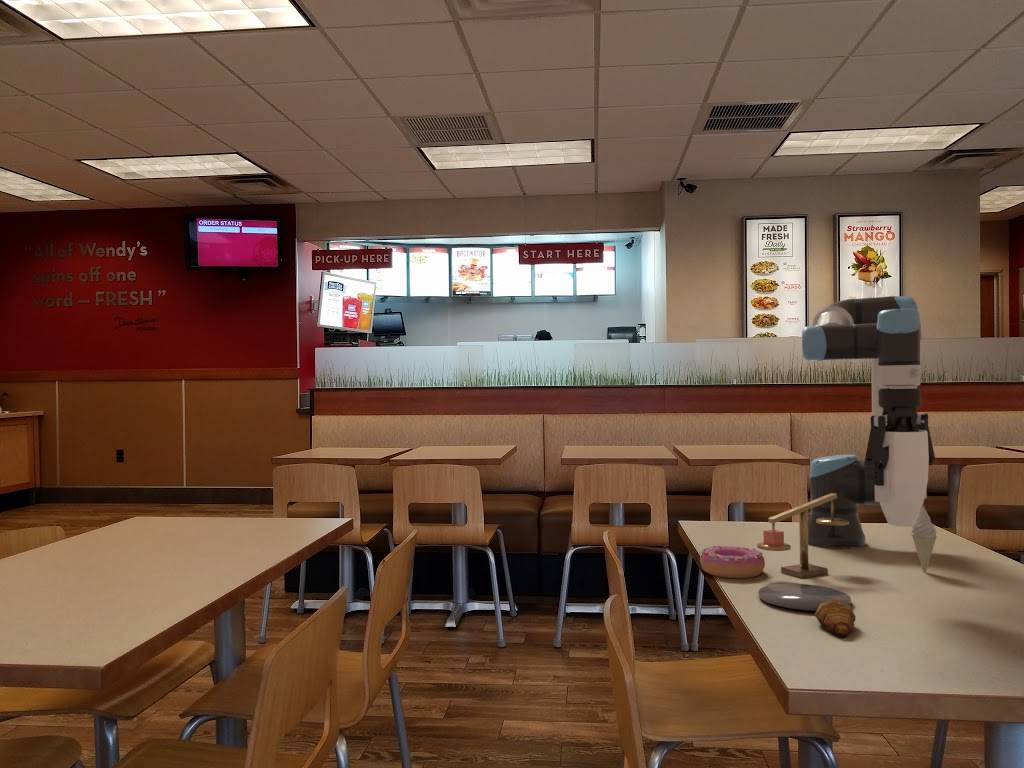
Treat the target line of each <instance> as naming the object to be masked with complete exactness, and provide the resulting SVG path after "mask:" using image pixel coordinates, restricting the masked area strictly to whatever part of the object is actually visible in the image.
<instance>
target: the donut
mask: <svg viewBox="0 0 1024 768" xmlns="http://www.w3.org/2000/svg"><path fill="white" fill-rule="evenodd" d="M699 554H700V557H699V562H700V567H701V568H702V571H704V572H705V573H706V574H709V575H711V576H713V577H719V578H727V579H747V578H748V579H749V578H755V577H757V576H759V575H761V574H762V573H763V572H764V569H765V565H766V561H765V558H764V554H763V552H761V551H759V550H757V549H755V548H750V547H743V546H734V545H724V546H722V545H716V546H715V545H713V546H711V547H710V546H709V547H705V548H704V549H702V550H701V551H700V552H699Z"/></svg>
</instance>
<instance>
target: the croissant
mask: <svg viewBox="0 0 1024 768" xmlns="http://www.w3.org/2000/svg"><path fill="white" fill-rule="evenodd" d="M814 616H815V618H816V620H817V621H818V623H819V625H821V626H822V627H823V628H825V629H826V630H827V632H829V633H830V634H832V635H834V636H837V637H840V638H847V637H848V636H849V634H850V633H851V631H852V629H853V628H854V626H855V621H856V614H855V613H854V611H853V608H852V607H851V606H850V605H846V604H844V603H842V602H839V601H837V600H835V599H834V600H831V601H828V602H824V603H821V604H820V605H819V607H818V609H817V611H815V613H814Z"/></svg>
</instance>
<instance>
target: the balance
mask: <svg viewBox="0 0 1024 768" xmlns="http://www.w3.org/2000/svg"><path fill="white" fill-rule="evenodd" d="M836 498H837V494H835V493H831V494H828V495H826V496H823V497H820V498H818V499H815V500H813V501H811V500H810V501H808V502H806V503H803V504H800V505H798V506H795V507H793V508H791V509H788V510H785V511H783V512H781V513H778V514H776V515H774V516H773V515H772V516H770V517H768V518H767V520H768V524H769V523H770V524H771V527H772V529H766V530H763V533H762V535H763V541H760V542H758V543H756V547H757V548H758V549H760V550H763V551H764V550H765V551H771V552H772V551H773V552H785V551H789V550H791V547H792V546H791V544H789V543H787V542H785V536H784V535H785V532H784V531H782V530H778V529H776V527H775V526H776V525H775V524H777V523H779V522H782V521H783V520H787V519H789V518H791V517H794V516H796V515H799V516H798V519H799V521H798V522H799V523H798V524H799V527H798V528H799V529H798V530H799V563H798V564H793V565H787V566H786V565H785V566H780V572H781V573H782V574H786V575H790V576H792V577H795V578H800V579H805V578H811V577H816V576H817V577H818V576H824V575H829V568H827V567H824V566H820V565H815V564H813V563H809V544H808V520H809V515H808V513H809V512H808V511H809V510H811V508H814V507H816V506H819V505H821V504H824V503H826V502H829V501H831V518H818V519H816V523H818V524H822V525H830V526H844V525H849V521H848V520H845V519H839V518H834V514H833V500H834V499H836Z"/></svg>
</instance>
